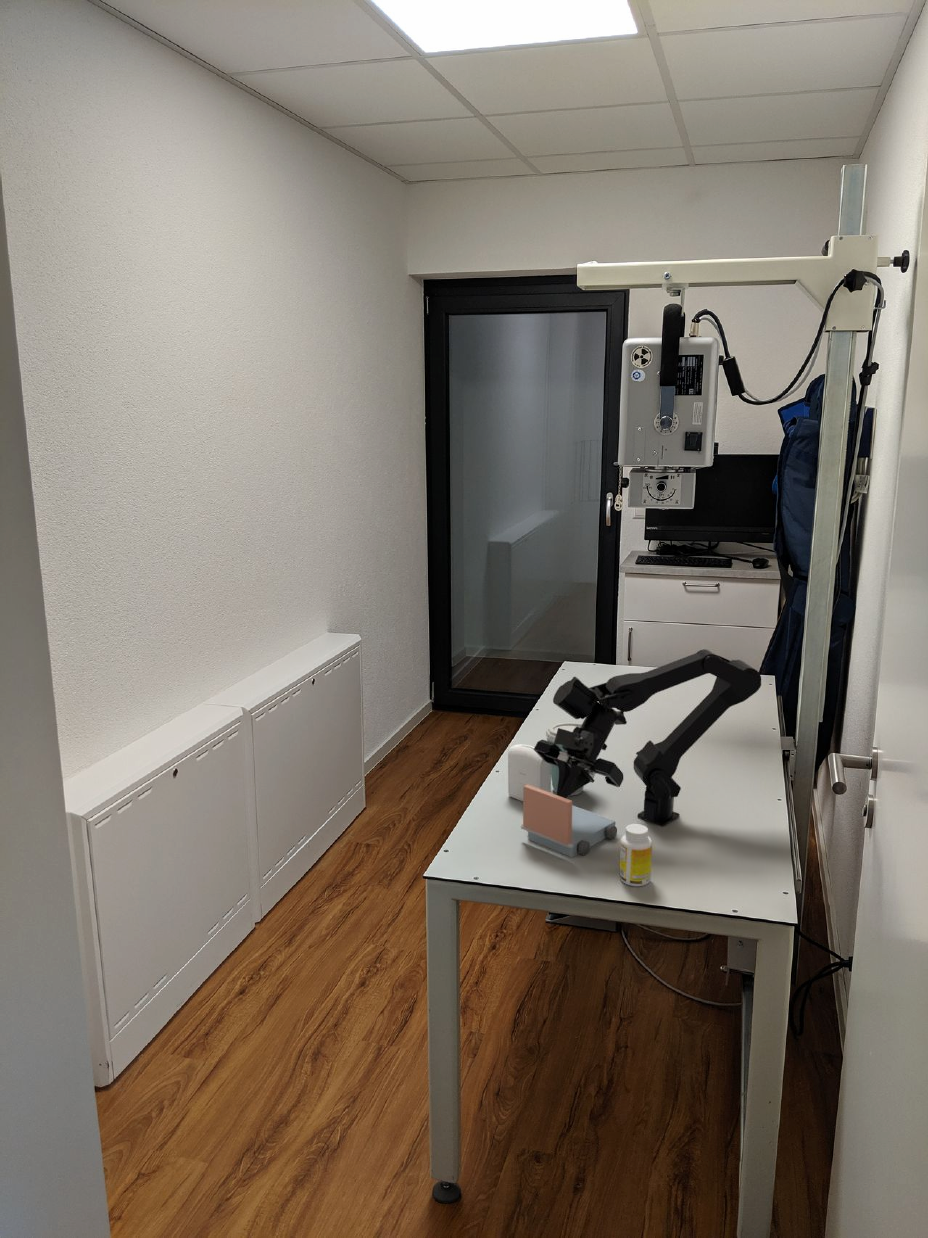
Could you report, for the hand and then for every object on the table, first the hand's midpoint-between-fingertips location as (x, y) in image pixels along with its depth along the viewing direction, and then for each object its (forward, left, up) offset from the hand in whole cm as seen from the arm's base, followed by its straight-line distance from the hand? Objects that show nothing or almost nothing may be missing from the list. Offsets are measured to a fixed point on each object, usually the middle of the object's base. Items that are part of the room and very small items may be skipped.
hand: (558, 800), depth 185 cm
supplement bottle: (+2, +19, -9) cm, 21 cm away
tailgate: (+4, 0, -6) cm, 7 cm away
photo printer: (-11, -17, -9) cm, 22 cm away
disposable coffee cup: (-21, -14, -9) cm, 27 cm away
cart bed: (-4, 0, -9) cm, 10 cm away
